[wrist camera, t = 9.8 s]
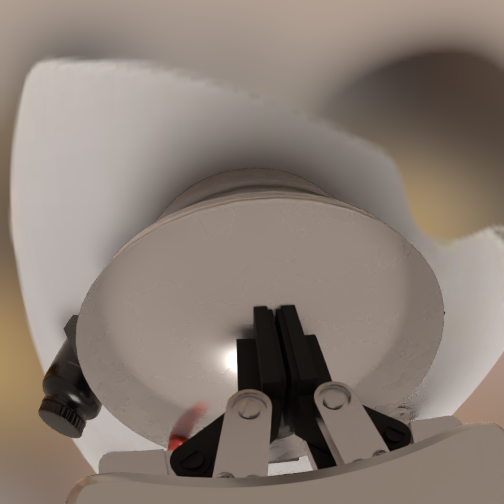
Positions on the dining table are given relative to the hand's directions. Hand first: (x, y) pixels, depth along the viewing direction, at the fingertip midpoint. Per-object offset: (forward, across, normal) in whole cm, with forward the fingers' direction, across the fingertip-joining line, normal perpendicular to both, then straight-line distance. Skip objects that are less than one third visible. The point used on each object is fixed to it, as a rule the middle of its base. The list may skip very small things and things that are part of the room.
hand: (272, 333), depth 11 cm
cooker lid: (+2, 0, +5) cm, 6 cm away
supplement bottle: (+13, +19, +14) cm, 27 cm away
